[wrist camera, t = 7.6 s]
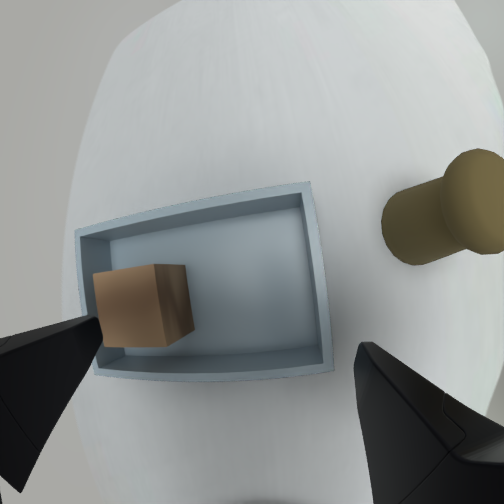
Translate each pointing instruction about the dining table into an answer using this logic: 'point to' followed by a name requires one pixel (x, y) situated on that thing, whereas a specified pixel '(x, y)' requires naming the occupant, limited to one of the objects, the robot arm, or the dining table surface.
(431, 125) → the dining table surface
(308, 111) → the dining table surface
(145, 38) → the dining table surface
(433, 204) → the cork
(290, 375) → the tote
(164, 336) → the walnut cube
